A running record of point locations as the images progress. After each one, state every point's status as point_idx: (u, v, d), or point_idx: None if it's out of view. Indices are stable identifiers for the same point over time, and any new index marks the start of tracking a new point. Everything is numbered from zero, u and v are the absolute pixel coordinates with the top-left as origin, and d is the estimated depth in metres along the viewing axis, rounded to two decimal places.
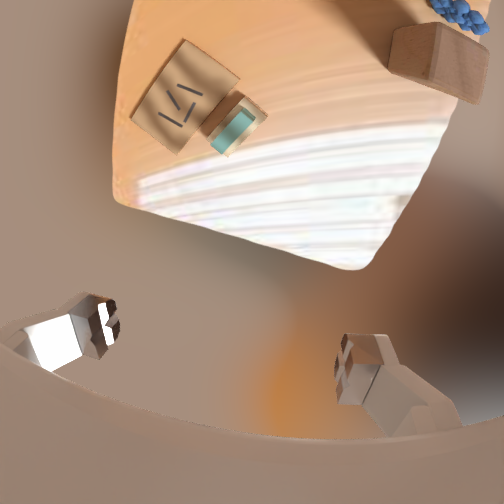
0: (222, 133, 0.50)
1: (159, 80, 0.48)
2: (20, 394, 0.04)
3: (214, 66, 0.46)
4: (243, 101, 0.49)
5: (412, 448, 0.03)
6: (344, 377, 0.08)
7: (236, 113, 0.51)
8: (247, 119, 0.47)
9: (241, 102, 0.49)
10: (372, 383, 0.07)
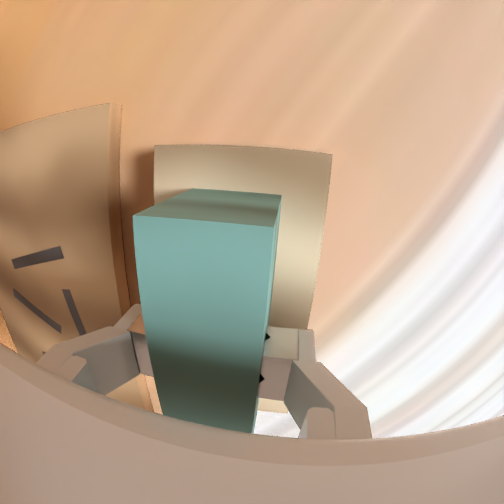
0: (167, 398, 0.08)
1: None
2: (20, 394, 0.04)
3: (32, 138, 0.11)
4: (166, 164, 0.09)
5: (412, 448, 0.03)
6: None
7: None
8: (218, 238, 0.06)
9: (163, 176, 0.09)
10: (289, 378, 0.07)
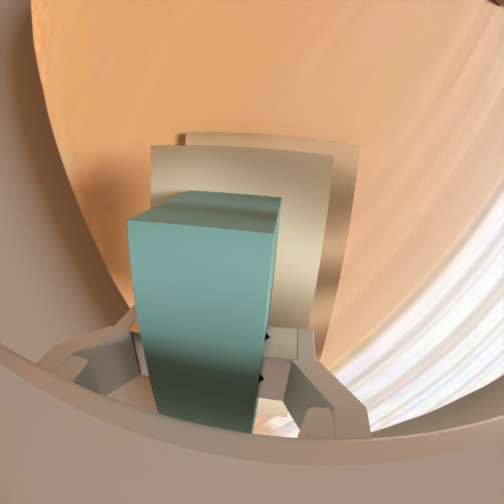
0: (164, 404, 0.07)
1: None
2: (20, 394, 0.04)
3: (288, 148, 0.21)
4: (164, 165, 0.09)
5: (412, 448, 0.03)
6: None
7: None
8: (216, 245, 0.05)
9: (160, 177, 0.09)
10: (288, 379, 0.07)
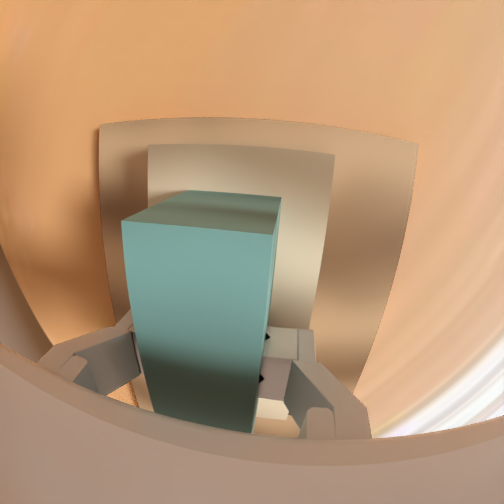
0: (162, 408, 0.07)
1: None
2: (20, 394, 0.04)
3: (282, 145, 0.10)
4: (161, 164, 0.09)
5: (412, 448, 0.03)
6: None
7: None
8: (212, 246, 0.05)
9: (157, 177, 0.09)
10: (289, 378, 0.07)
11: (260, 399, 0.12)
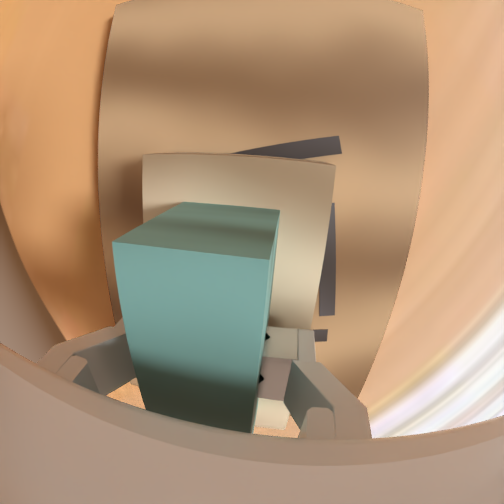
0: None
1: (110, 204, 0.12)
2: (20, 394, 0.04)
3: None
4: (156, 174, 0.09)
5: (412, 448, 0.03)
6: None
7: None
8: (206, 270, 0.05)
9: (152, 188, 0.09)
10: (289, 379, 0.07)
11: (258, 409, 0.12)
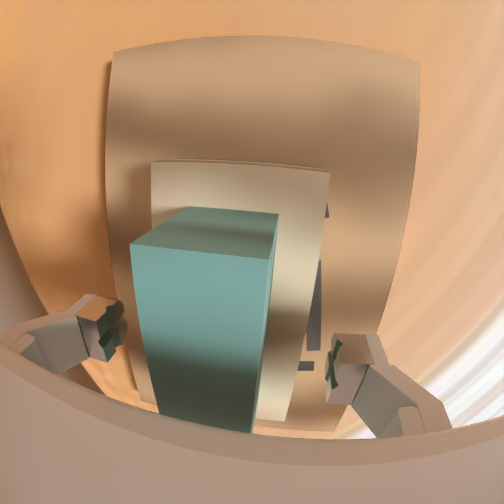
0: (167, 412, 0.08)
1: (121, 252, 0.14)
2: (20, 394, 0.04)
3: (291, 57, 0.09)
4: (164, 181, 0.09)
5: (412, 448, 0.03)
6: (333, 377, 0.08)
7: None
8: (214, 269, 0.06)
9: (160, 193, 0.10)
10: (361, 382, 0.07)
11: (259, 401, 0.12)
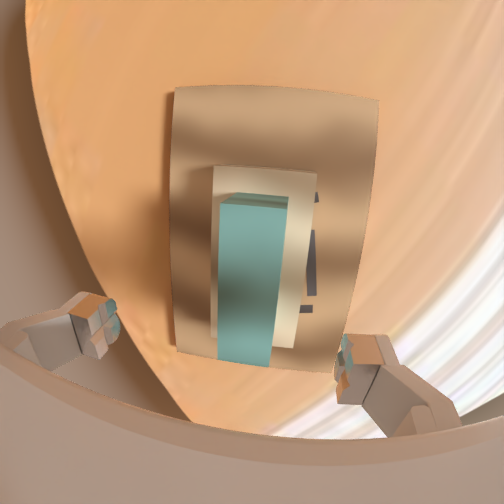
0: (223, 311, 0.15)
1: (178, 227, 0.21)
2: (20, 394, 0.04)
3: (295, 101, 0.17)
4: (221, 177, 0.16)
5: (412, 448, 0.03)
6: (344, 377, 0.08)
7: None
8: (262, 214, 0.13)
9: (219, 184, 0.17)
10: (373, 383, 0.07)
11: (275, 329, 0.19)
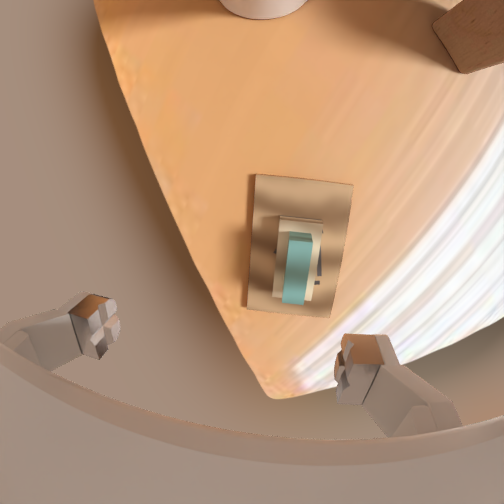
0: (287, 280, 0.38)
1: (256, 243, 0.43)
2: (20, 394, 0.04)
3: (314, 187, 0.39)
4: (283, 224, 0.39)
5: (412, 448, 0.03)
6: (344, 377, 0.08)
7: (285, 244, 0.40)
8: (304, 244, 0.35)
9: (281, 227, 0.39)
10: (373, 383, 0.07)
11: None
